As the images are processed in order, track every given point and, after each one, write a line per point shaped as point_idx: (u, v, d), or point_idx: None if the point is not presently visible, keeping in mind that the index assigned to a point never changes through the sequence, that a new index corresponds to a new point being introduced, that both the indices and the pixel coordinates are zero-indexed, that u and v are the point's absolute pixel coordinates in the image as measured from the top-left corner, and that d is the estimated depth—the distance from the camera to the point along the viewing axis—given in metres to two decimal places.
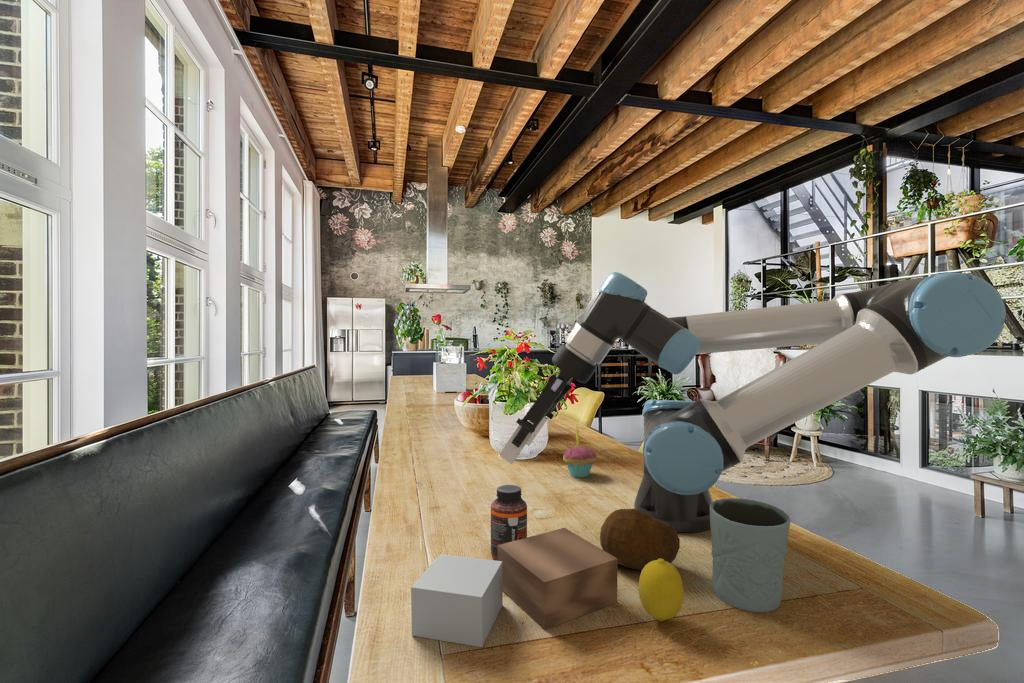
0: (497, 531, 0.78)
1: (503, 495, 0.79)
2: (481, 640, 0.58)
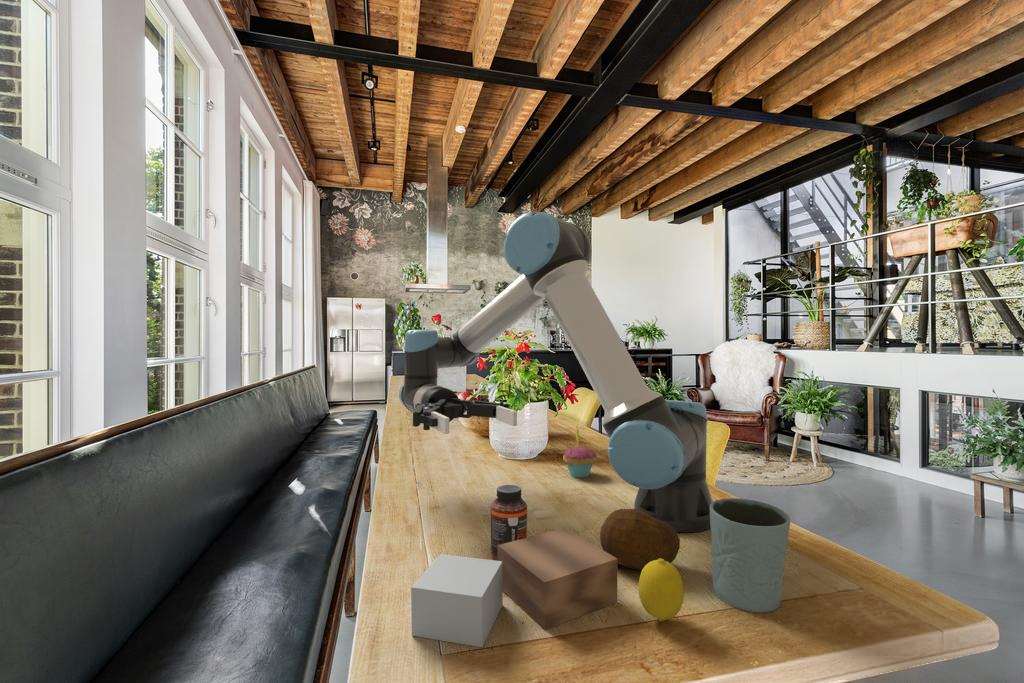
0: (497, 531, 0.78)
1: (503, 495, 0.79)
2: (481, 640, 0.58)
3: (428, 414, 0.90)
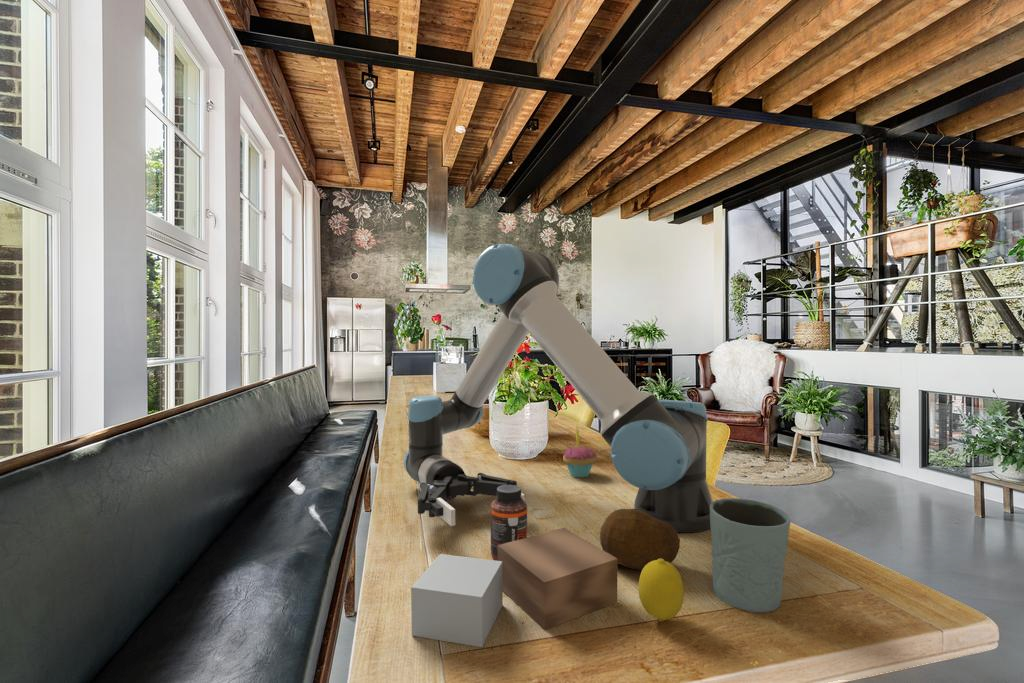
0: (497, 531, 0.78)
1: (503, 495, 0.79)
2: (481, 640, 0.58)
3: (433, 501, 0.87)
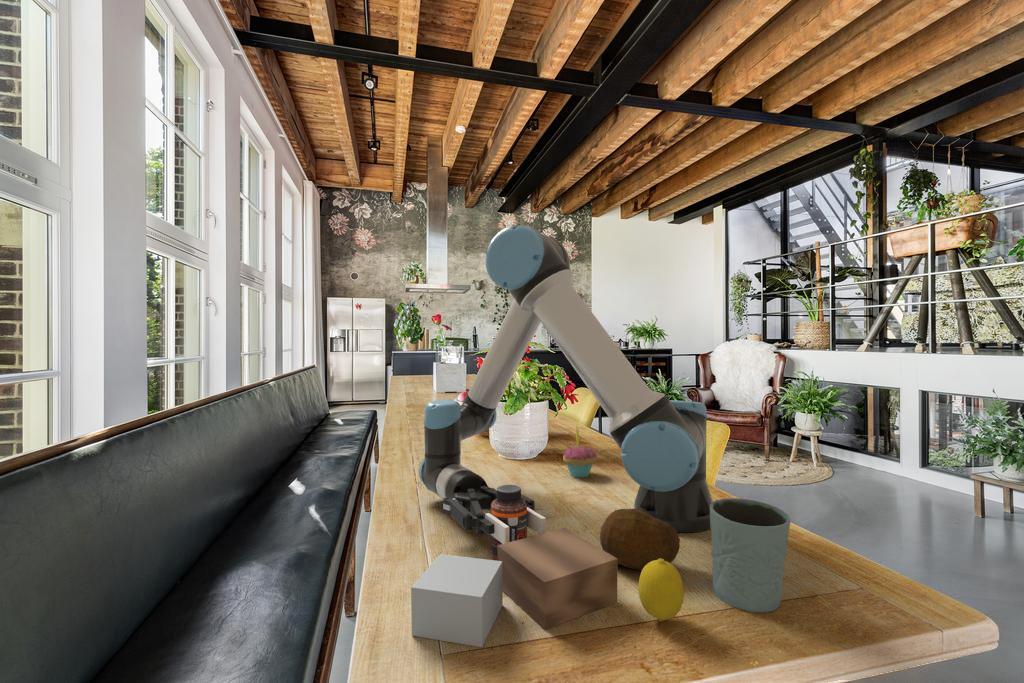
0: None
1: (503, 495, 0.79)
2: (481, 640, 0.58)
3: (482, 516, 0.79)
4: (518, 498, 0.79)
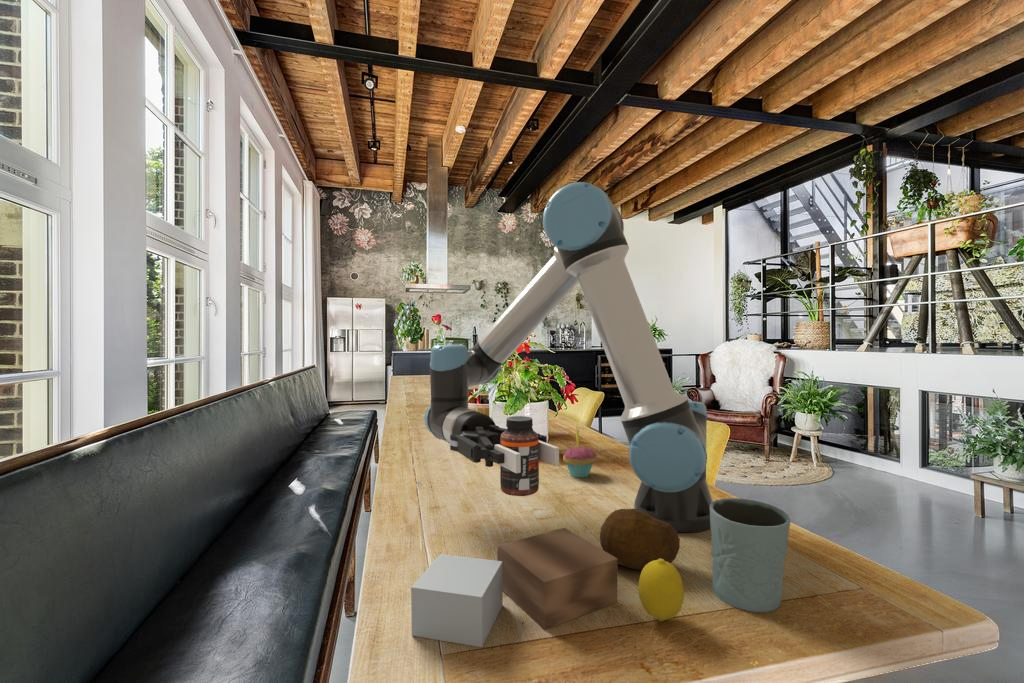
0: None
1: (513, 424, 0.74)
2: (481, 640, 0.58)
3: (491, 447, 0.75)
4: (529, 428, 0.74)
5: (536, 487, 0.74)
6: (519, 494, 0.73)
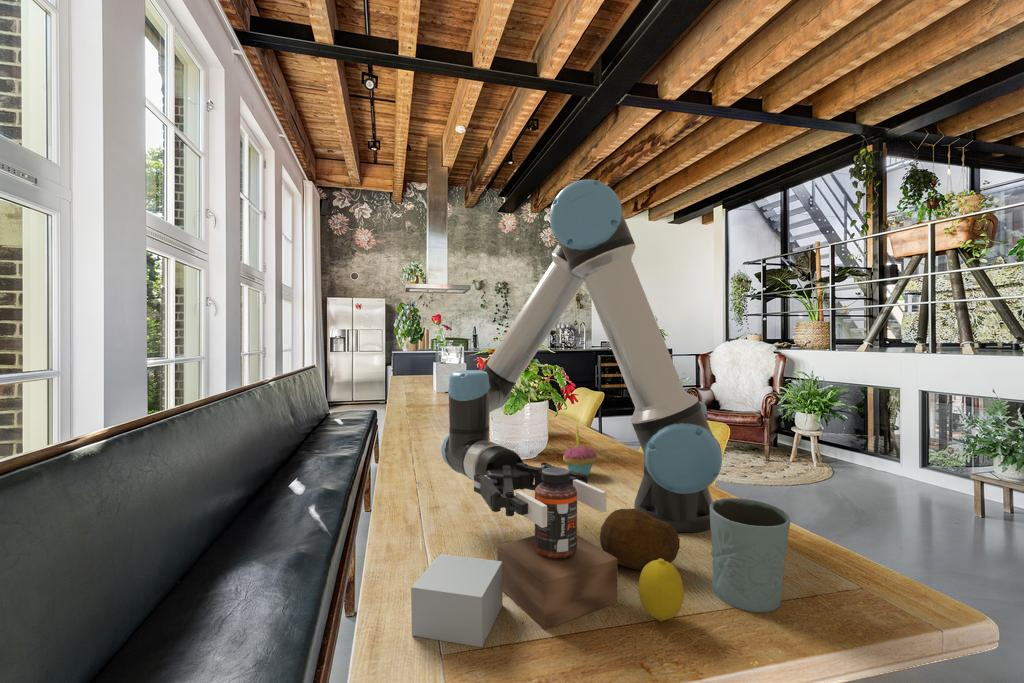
0: None
1: (550, 479, 0.67)
2: (481, 640, 0.58)
3: (512, 495, 0.68)
4: (567, 482, 0.68)
5: (575, 547, 0.68)
6: (557, 556, 0.66)
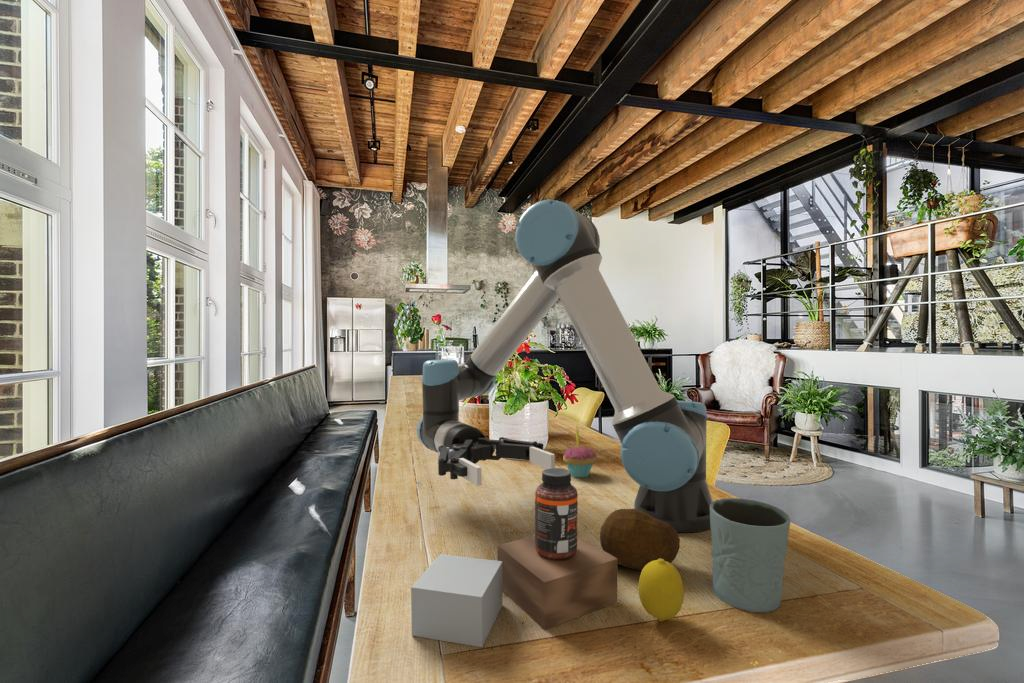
0: (544, 521, 0.67)
1: (551, 480, 0.67)
2: (481, 640, 0.58)
3: (455, 461, 0.79)
4: (568, 483, 0.68)
5: (575, 548, 0.68)
6: (557, 557, 0.66)
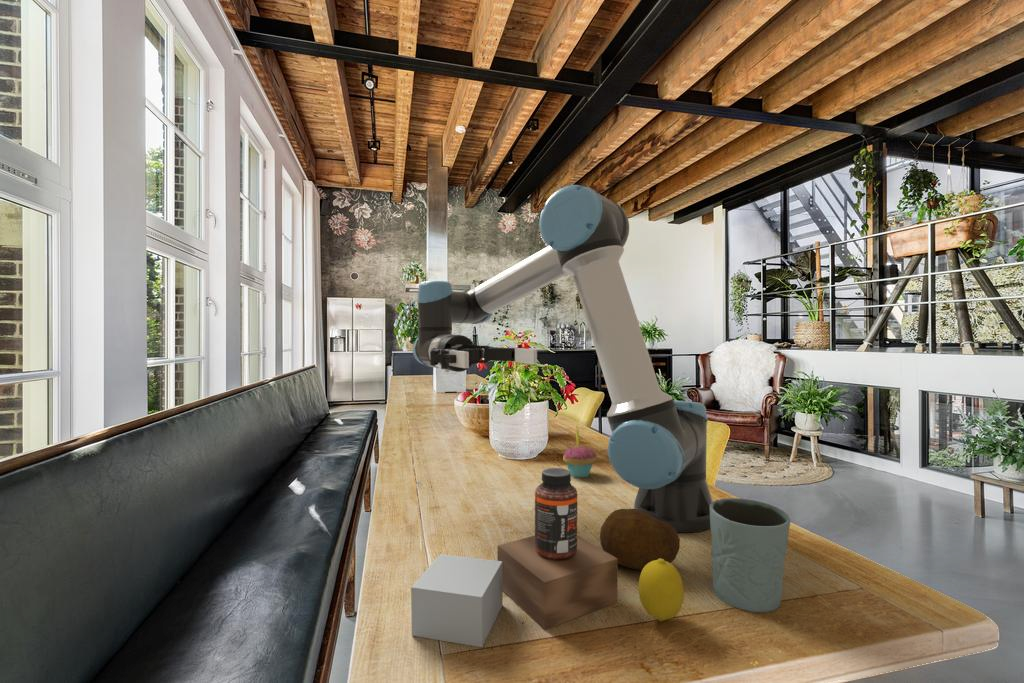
0: (544, 521, 0.67)
1: (550, 480, 0.67)
2: (481, 640, 0.58)
3: (446, 352, 0.87)
4: (568, 483, 0.68)
5: (575, 548, 0.68)
6: (557, 557, 0.66)
